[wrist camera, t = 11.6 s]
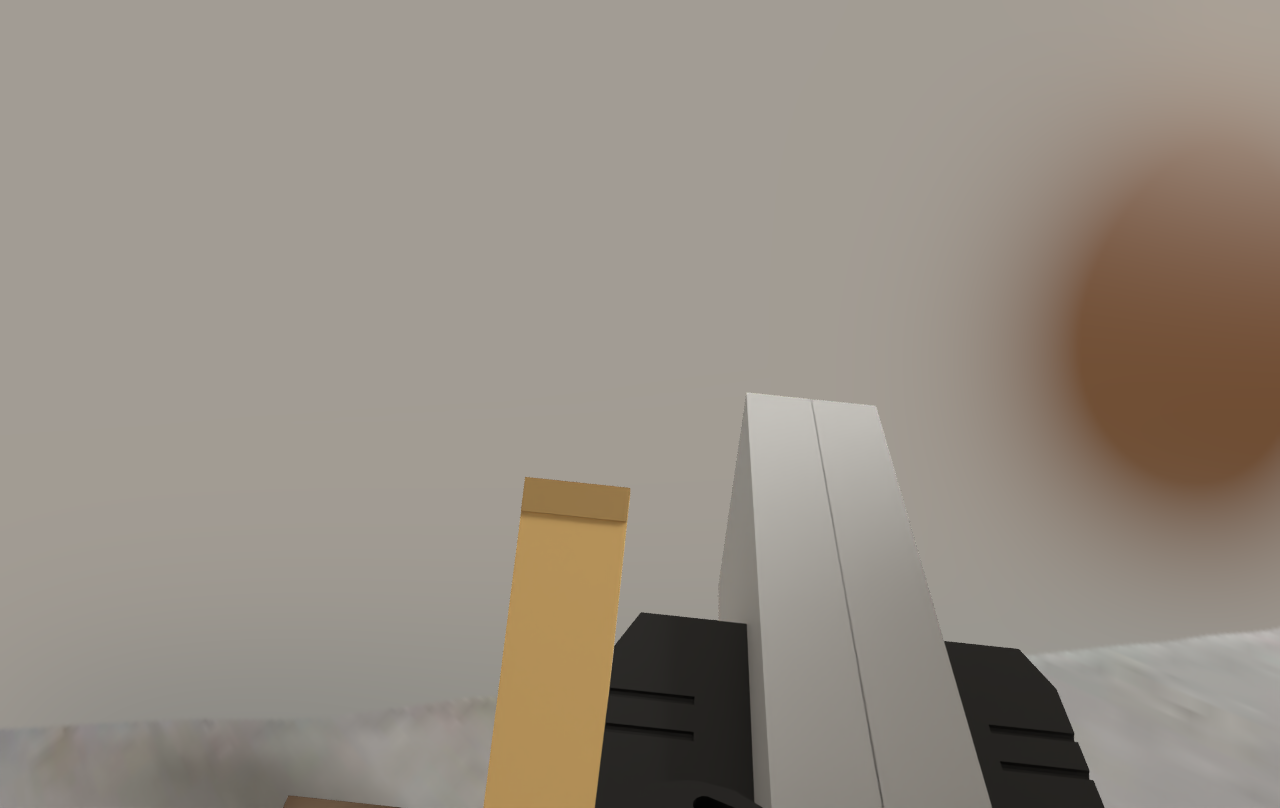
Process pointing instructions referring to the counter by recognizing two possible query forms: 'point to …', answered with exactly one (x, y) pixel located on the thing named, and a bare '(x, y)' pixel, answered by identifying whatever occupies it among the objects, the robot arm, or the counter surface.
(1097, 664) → the counter surface
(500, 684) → the tan tall block
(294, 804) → the console
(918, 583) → the robot arm
